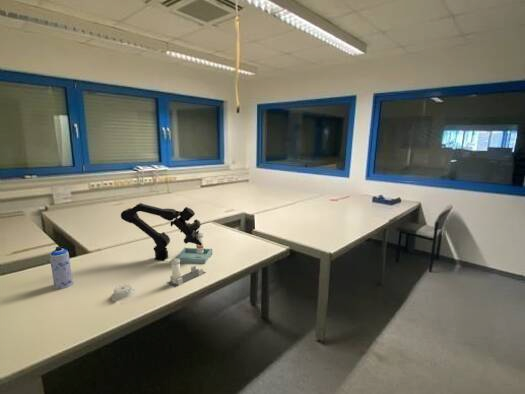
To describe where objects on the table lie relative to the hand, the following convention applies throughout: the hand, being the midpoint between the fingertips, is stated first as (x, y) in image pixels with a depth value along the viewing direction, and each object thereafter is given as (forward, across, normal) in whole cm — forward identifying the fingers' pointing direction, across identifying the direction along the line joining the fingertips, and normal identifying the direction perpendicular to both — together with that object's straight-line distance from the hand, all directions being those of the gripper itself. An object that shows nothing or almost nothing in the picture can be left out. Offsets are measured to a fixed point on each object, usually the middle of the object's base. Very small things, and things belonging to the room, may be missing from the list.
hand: (202, 243), depth 171 cm
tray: (+4, 0, +10) cm, 11 cm away
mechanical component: (-13, -42, +28) cm, 52 cm away
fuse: (+1, -31, +11) cm, 33 cm away
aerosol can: (-37, -32, +52) cm, 71 cm away
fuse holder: (+5, -26, +9) cm, 28 cm away
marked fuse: (+3, 0, +5) cm, 6 cm away
